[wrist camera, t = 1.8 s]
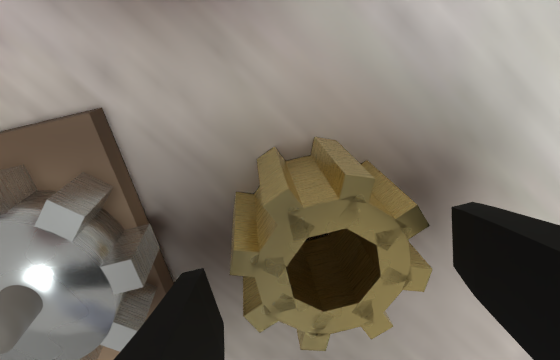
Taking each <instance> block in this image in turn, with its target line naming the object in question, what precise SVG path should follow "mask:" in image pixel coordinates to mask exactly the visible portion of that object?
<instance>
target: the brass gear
mask: <svg viewBox="0 0 560 360" xmlns="http://www.w3.org/2000/svg"><path fill="white" fill-rule="evenodd" d="M257 166H258V173H259V181H260V186H259V188H258V189H257V191H256V192H255V194H249V193H241V192H236V196H235V203H234V210H233V226H232V244H231V262H230V275H234V276H243V316H244V317H245V318H246V319H247V320H248V321H249V322H250V323H251V324H252V325H253V326H254V327H255V329H256V330H257V331H258V332H259V333H260V332H262V331H263V330H265V329H267V328H268V327H270V326H271V325H273V324H274V323H276V322H278V321H280V322H282V323H285V324H287V325H289V326H291V327H294V328H296V329H297V333H298V339H299V344H300V349H301V350H315V351H326V348H327V344H328V341H329V337H330V334H332V333H336V332H340V331H344V330H348V329H352V328H356V327H360V326H361V327H362V329H363V330H364V331H365V332H366V333H367V335H368V336H369V337H370V338H371V339H373V338H375V337H376V336H378V335H380V334H381V333H383V332H385V331H387V330H388V329H390V328H392V327H393V325H392V323H391V321H390V319H389V318H388V316H387V314H386V312H385V310H386V309H387V308H388V307H389V305H390V304H391V303H392V302H393V301H394V300H395V298H396V297H397V296H398V295H399V294H400V293H401V291H402V290H409V291H421V292H424V290H425V287H426V285H427V282H428V280H429V277H430V274H431V272H432V268H431V267H430V266H429V265H428V264H427V262H426V261H425V260H424V259H423V258H422V257H421V255H420V254H419V253H418V252H417V251H416V250H415V249H414V247H413V246H412V245H411V244H410V243H409V241H408V239H410V238H411V237H413V236H414V235H416V234H417V233H419V232H421V231H422V230H424V229H425V228H427V227H429V226H430V225H429V224H428V222H427V220H426V219H425V217H424V215H423V214H422V212H421V210H420V209H419V207H418V205H417V204H416V203H415V202H413V201H412V200H411V199H410V198H409V197H408V196H407V195H406V194H404V193H403V192H402V191H401V190H400V189H399V188H398V187H397V186H395V185H394V184H393V183H392V182H391V181H390V180H389V179H388V178H386V177H385V176H384V175H383V174H382V173H381V172H380V171H379V170H377V169H376V168H375V167H374V166H373V165H372V164H371V163H370V162H368V161H365V162H364V163H362V164H360V163H359V162H357V161H356V160H355V159H354V158H353V157H352V156H351V155H350V154H349V153H348V152H347V151H346V150H345V149H344V148H343V147H342V146H341V145H340V144H339V143H338V142H337V141H336V140H330V139H324V138H317V137H314V142H313V147H312V151H311V155H309V156H305V157H301V158H297V159H292V160H288V161H285V160H284V159H283V157H282V156H281V155H280V153H279V152H278V151H277V149H276V148H275V147H273V148H272V149H271V150H269V151H268V152H266V153H265V154H264V155H262V156H261V157H259V158H258V159H257ZM329 232H330V233H329ZM325 233H329V234H328V235H327V236H323V237H319V238H315V239H311V240H307V241H306V239H307V238H309V237H313V236H317V235H321V234H325Z"/></svg>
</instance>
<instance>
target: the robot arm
mask: <svg viewBox="0 0 560 360" xmlns="http://www.w3.org/2000/svg"><path fill="white" fill-rule="evenodd" d="M452 236H453V266H454V268H455V269H456V271H457V272H458V274H459V275H460V276H461V278H462V279H463V281H464V282H465V284H466V285H467V286H468V288H469V289H470V290H471V292H472V293H473V294H474V296H475V297H476V298H477V299H478V300H479V301H480V303H481V304H482V305H483V306H484V307H485V308H486V309H487V310H488V311H489V312H490V313H491V315H492V316H493V317H494V318H495V319H496V320H497V321H498V322H499V323H500V324H501V325H502V326H503V327H504V329H505V330H506V331H507V332H508V333H509V334H510V335H511V336H512V337H513V338H514V339H515V340H516V341H517V342H518V344H519V345H520V346H521V347H522V348H523V349H524V350H525V351H526V352H527V353H528V354H529V355H530V356H531V357H532V359H534V360H560V225H556V224H553V223H549V222H546V221H542V220H538V219H535V218H531V217H528V216H525V215H521V214H518V213H514V212H511V211H507V210H503V209H500V208H496V207H492V206H488V205H484V204H480V203H475V202H471V203H467V204H463V205H459V206H454V207H452ZM114 360H224V323H223V320H222V318H221V315H220V312H219V309H218V307H217V304H216V301H215V298H214V296H213V293H212V290H211V287H210V285H209V282H208V279H207V276H206V274H205V271H204V268H201V269H197V270H193V271H189V272H185V273H182V274H181V275H180V276H179V278H178V279H177V280H176V282H175V283H174V284H173V285H172V287H171V288H170V289H169V291H168V292H167V293H166V295H165V296H164V297H163V299H162V300H161V301H160V303H159V304H158V305H157V307H156V308H155V309H154V311H153V312H152V313H151V315H150V316H149V317H148V318H147V320H146V321H145V322H144V324H143V325H142V326H141V327H140V329H139V330H138V331H137V332H136V334H135V335H134V336H133V337H132V338H131V340H130V341H129V342H128V343H127V344H126V345H125V347H124V348H123V349H122V350H121V351H120V353H119V354H118V355H117V356H116V357H115V359H114Z"/></svg>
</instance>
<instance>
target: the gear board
mask: <svg viewBox="0 0 560 360" xmlns="http://www.w3.org/2000/svg"><path fill="white" fill-rule="evenodd" d="M20 165H25V167H26V169H27V171H28V173H29V174H30V176H31V178H32V180H33V182H34V184H35V186H36V188H37V190H51V191H59V190H60V189H61V188H63V187H64V186H65V185H66V184H68V183H69V182H70V181H72V180H73V179H74V178H76V177H77V176H78V175H79V174H81V173H82V172H85V173H87V174H89V175H91V176H93V177H95V178H97V179H99V180H101V181H103V182H105V183H107V184H109V185H111V186H113V188H112V190H111V192H110V194H109V196H108V198H107V200H106V202H105V203H104V205H103V207H102V208H103V209H104V210H106V211H107V212H108V213H109V214H110V215H112V216H113V217H114V218H115V219H116V220H117V221H118V222H119V223H120V224H121V226H122V227H123V228H124V229H129V228H133V227H137V226H141V225H145V224H149V222H148V220H147V218H146V215H145V213H144V210H143V208H142V205H141V203H140V200H139V198H138V196H137V193H136V191H135V188H134V186H133V183H132V181H131V179H130V176H129V174H128V171H127V169H126V166H125V164H124V161H123V159H122V157H121V154H120V152H119V149H118V147H117V144H116V142H115V140H114V137H113V135H112V132H111V130H110V127H109V125H108V122H107V120H106V118H105V115H104V113H103V110H102V108H98V109H94V110H90V111H85V112H81V113H77V114H73V115H69V116H64V117H60V118H56V119H52V120H47V121H43V122H39V123H35V124H31V125H26V126H22V127H18V128H14V129H9V130H5V131H1V132H0V170H3V169H7V168H11V167H16V166H20ZM146 283H148V284H151V285H153V286H155V287H157V289H156V292H155V295H154V297H153V300H152V303H151V306H150V309H149V311H148V314H147V317H146V320H147V318H148V317H149V316H150V315H151V313H152V312H153V311H154V309H155V308H156V307H157V305H158V304H159V303H160V301H161V300H162V299H163V297H164V296H165V295H166V293H167V292H168V291H169V289H170V288H171V287H172V285H173V284H174V283H173V281H172V278H171V276H170V274H169V271H168V269H167V266H166V264H165V261H164V259H163V257H162V254H161V252H160V249H159V251H158V253H157V256H156V258H155V260H154V263H153V265H152V268H151V270H150V272H149V275H148V277H147V280H146ZM42 308H43V301H42V299H41V297H40V296H39V294H38V293H37V292H36V291H34V290H33V289H31V288H29V287H26V286H21V285H12V286H8V287H5V288H4V289H2V290H1V291H0V355H1V354H4V353H7V352H8V351H10V350H11V349H12V348H13V347H14V346H15V344H16V343H17V342H18V340H19V339H20V338H21V337H22V335H23V334H24V333H25V331H26V330H27V329H28V327H29V326H30V325H31V324H32V322H33V321H34V320H35V318H36V317H37V316H38V314H39V313H40V312H41V310H42ZM146 320H145V321H146ZM119 353H120V352H119V351H117V350H114V349H111V348H108V347H105V346H103V348H102V350H101V352H100V354H99V357H98V359H97V360H114V359H115V357H116V356H117V355H118V354H119Z"/></svg>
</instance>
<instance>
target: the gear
mask: <svg viewBox="0 0 560 360" xmlns="http://www.w3.org/2000/svg"><path fill="white" fill-rule="evenodd" d="M112 188H113V186H111V185H109V184H107V183H105V182H103V181H101V180H99V179H97V178H95V177H93V176H91V175H89V174H87V173H85V172H82V173H81V174H79V175H78V176H77V177H76V178H74V179H73V180H72V181H70V182H69V183H68V184H66V185H65V186H64V187H63V188H61V189H60V190H59V191H51V190H37V188H36V186H35V184H34V182H33V180H32V178H31V176H30V174H29V173H28V171H27V169H26V167H25V165H20V166H16V167H11V168H7V169H3V170H0V291H1V290H2V289H4V288H5V287H8V286H12V285H21V286H26V287H29V288H31V289H33V290H34V291H36V292H37V293H38V294H39V296H40V297H41V299H42V301H43V308H42V310H41V312H40V313H39V314H38V316H37V317H36V318H35V320H34V321H33V322H32V324H31V325H30V326H29V327H28V329H27V330H26V331H25V333H24V334H23V335H22V337H21V338H20V339H19V340H18V342H17V343H16V344H15V346H14V347H13V348H12V349H11V350H10V351H8V352H7V353H4V354H1V355H0V360H97V359H98V357H99V354H100V352H101V350H102V348H103V346H105V347H108V348H111V349H114V350H117V351H119V352H120V351H121V350H122V349H123V348H124V347H125V345H126V344H127V343H128V342H129V341H130V340H131V338H132V337H133V336H134V335H135V334H136V332H137V331H138V330H139V329H140V327H141V326H142V325H143V324H144V322H145V320H146V317H147V314H148V311H149V309H150V306H151V303H152V300H153V297H154V295H155V292H156V289H157V287H155V286H153V285H151V284H148V283H146V280H147V277H148V275H149V272H150V270H151V268H152V265H153V263H154V260H155V258H156V256H157V253H158V251H159V248H160V247H159V244H158V242H157V239H156V237H155V234H154V232H153V229H152V227H151V224H150V223H149V224H145V225H141V226H137V227H133V228H129V229H124V228H123V227H122V226H121V224H120V223H119V222H118V221H117V220H116V219H115V218H114V217H113V216H112V215H110V214H109V213H108V212H107V211H106V210H104V209H103V208H102V207H103V205H104V203H105V202H106V200H107V198H108V196H109V194H110V192H111V190H112Z"/></svg>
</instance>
